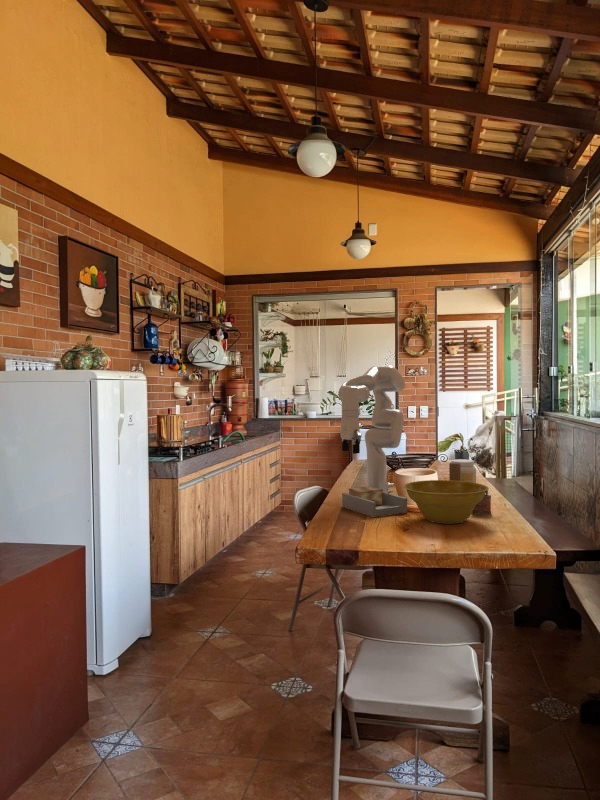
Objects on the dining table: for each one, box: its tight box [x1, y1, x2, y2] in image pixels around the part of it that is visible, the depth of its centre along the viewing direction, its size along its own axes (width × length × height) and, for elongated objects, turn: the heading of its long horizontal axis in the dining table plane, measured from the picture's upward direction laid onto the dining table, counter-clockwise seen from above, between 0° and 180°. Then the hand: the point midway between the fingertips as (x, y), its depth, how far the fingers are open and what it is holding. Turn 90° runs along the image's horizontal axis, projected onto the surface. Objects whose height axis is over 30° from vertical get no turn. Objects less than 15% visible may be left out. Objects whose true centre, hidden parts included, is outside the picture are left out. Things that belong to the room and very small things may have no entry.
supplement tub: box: [450, 458, 477, 483], centre depth 270 cm, size 12×12×17 cm
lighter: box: [471, 489, 492, 515], centre depth 233 cm, size 8×3×10 cm, turn 65°
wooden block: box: [448, 462, 461, 481], centre depth 252 cm, size 9×4×18 cm, turn 70°
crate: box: [348, 485, 383, 505], centre depth 247 cm, size 11×9×6 cm
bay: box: [341, 492, 408, 518], centre depth 242 cm, size 17×23×6 cm
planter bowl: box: [403, 479, 489, 525], centre depth 222 cm, size 32×32×13 cm
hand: (350, 452), depth 254 cm, fingers open, 9 cm apart
